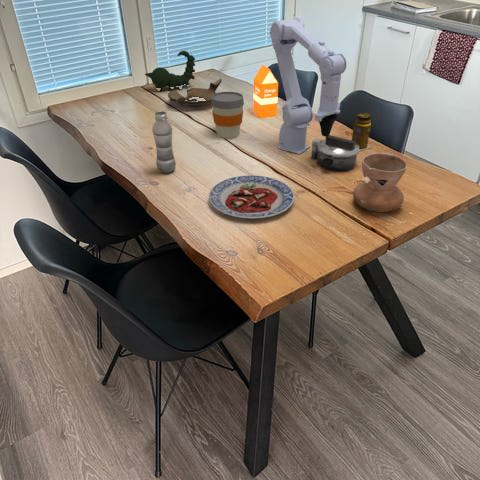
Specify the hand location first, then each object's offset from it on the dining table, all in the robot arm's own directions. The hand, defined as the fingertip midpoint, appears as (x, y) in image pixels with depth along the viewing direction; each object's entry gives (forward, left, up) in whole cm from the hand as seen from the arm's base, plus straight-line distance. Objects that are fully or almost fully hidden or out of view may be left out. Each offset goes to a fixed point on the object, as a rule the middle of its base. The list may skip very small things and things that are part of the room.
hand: (325, 135), depth 153 cm
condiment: (+4, +21, -11) cm, 24 cm away
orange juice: (-43, +30, -11) cm, 54 cm away
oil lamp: (-76, +25, -11) cm, 81 cm away
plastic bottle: (-41, -35, -11) cm, 55 cm away
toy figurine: (-101, +34, -11) cm, 107 cm away
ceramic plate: (-6, -35, -11) cm, 37 cm away
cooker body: (+2, +3, -10) cm, 11 cm away
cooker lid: (+3, +3, -5) cm, 6 cm away
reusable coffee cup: (-43, +3, -11) cm, 45 cm away
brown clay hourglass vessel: (+26, -15, -11) cm, 32 cm away
